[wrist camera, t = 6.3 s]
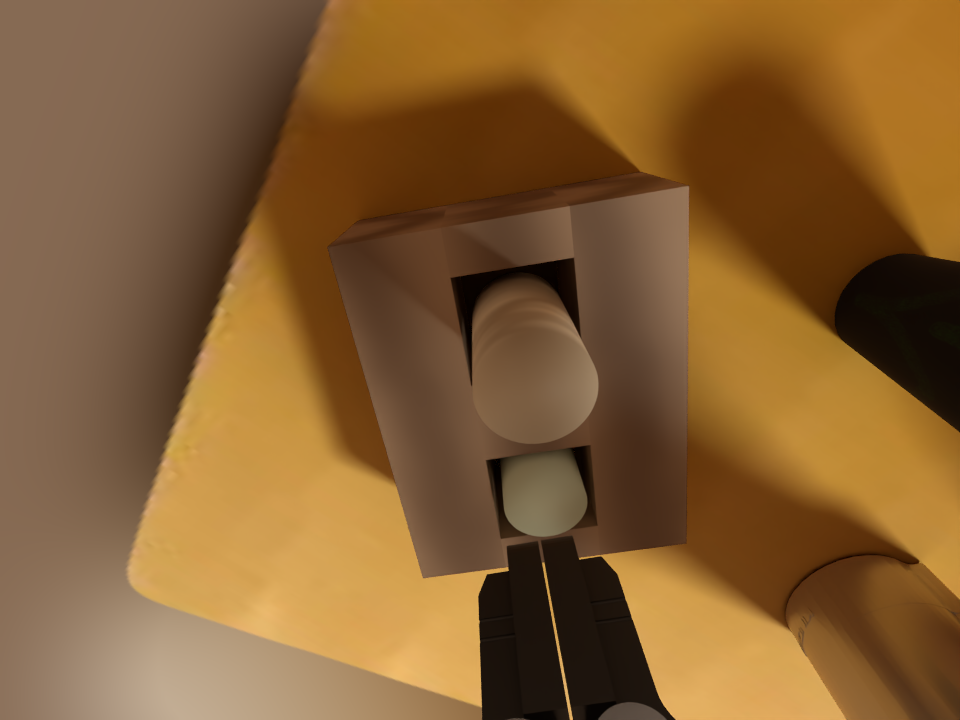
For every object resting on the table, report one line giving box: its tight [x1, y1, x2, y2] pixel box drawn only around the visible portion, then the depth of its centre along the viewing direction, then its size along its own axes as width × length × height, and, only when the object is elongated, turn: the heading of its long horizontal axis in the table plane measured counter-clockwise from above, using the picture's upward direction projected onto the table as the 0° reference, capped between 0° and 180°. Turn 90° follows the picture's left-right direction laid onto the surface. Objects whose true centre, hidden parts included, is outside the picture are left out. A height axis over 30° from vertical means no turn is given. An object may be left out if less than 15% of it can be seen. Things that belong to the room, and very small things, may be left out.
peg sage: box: [500, 448, 587, 537], centre depth 28 cm, size 4×4×7 cm
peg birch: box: [472, 273, 598, 444], centre depth 19 cm, size 4×4×7 cm
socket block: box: [327, 172, 689, 578], centre depth 26 cm, size 14×18×6 cm
